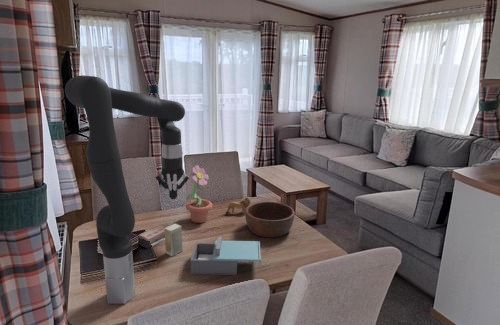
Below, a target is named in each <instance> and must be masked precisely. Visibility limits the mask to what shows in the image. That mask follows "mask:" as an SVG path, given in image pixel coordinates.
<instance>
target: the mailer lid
mask: <svg viewBox="0 0 500 325" xmlns="http://www.w3.org/2000/svg"><path fill="white" fill-rule="evenodd" d="M222 239H223V237H222V236H217V239H216V240H215V241H214V243H215V246H214V251H213V256H212V261H238V262H258V265H259V266H261V263H262V255H261V241H258V240H256V241H255V240H252V241H251V240H222Z"/></svg>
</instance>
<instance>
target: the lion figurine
mask: <svg viewBox="0 0 500 325" xmlns="http://www.w3.org/2000/svg"><path fill="white" fill-rule="evenodd" d="M251 204H252V198H251V197H249V196H247V197H244V199H243V200H241V201H239V202H237V201H230V202H229V204H228V206H227V210H226V212H225V214H228V213H232V214H233V215H236V212H234V210H235V208H236V209H238V210H240V209H241V212H242V213H243V215H245V209H246V207H247V206H249V205H251Z"/></svg>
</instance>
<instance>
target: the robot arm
mask: <svg viewBox="0 0 500 325" xmlns="http://www.w3.org/2000/svg"><path fill="white" fill-rule="evenodd" d="M64 94H65V96H66V99H67V100H68V101H69V102H70V103H71V104H72V105H73V106H75V107H78V108H81V109H84V112H85V115H86V119H87V122H88V128H89V130H88V131H89V136H88V140H87V143H86V144H87V145H86V149H85V150H86V153H85V154H86V159H87V164H88V168H89V173H90V176H91V178H92V180H93V182H94V183H95V184H96V186H97V188H98V190H100V192H102V194H103V196H104V198H105V200H106V202H107V204H108V205H105V206H103V207H101V209H100V210H99V211H98V213H97V216H96V221H95V222H96V224H95V225H96V232H97V238H98V245H99V247H100V249H101V251H102V258H103V268H104V277H105V278H104V279H105V291H106V299H107V300H106V301H107V304H109V305H110V304H112V305H125V304H127V302H129V301H130V300H132V299H134V296H136V286H135V285H136V284H135V272H134V259H133V243H132V242H131V240H130V239H129V238H128V236H129V235H131V234H132V232H133V231H134V229H135V226H136V218H135V217H136V216H135V212H134V210H133V206H132V204H131V201H130V196H129V194H128V190H127V184H126V181H125V177H124V176H125V175H124V172H123V164H122V159H121V155H120V150H119V146H118V140H117V135H116V129H115V125H114V117H113V116H114V115H113V112H114V111H113V110H118V111H120V112H121V111H122V112H126V113H130V114H133V115H138V116H143V117H149V118H156V119H157V122H158V125H159V129H160V131H161V166H162V169H161V172H160V173H159V174H157V175H156V177H155V179H156V180H157V181H158V182H159V184H160V185H161V186H162V188H164V189H165V190H168V194H169V198H170V199H171V200H176V199H177V197H178V196H179V195H178V190H180V189H182V188H183V187H184V185H185V184H186V183H187V181H188V180H189V179H190V177H191V175H189V174H186V173H185V170H184V165H183V146H182V130H181V129H180V128H179V127H177V126H176V125H175V122H179V121H182V120H183V119H184V117H185V115H186V109H185V107H184V105H183V104H182V103H180V102H178V101H175V100H171V99H169V100H168V99H162V98H159V97H155V96H152V95H149V94H144V93H140V92H134V91H130V90H128V91H127V90H122V89H117V88H112V87H109V85H108V83H107V82H106V81H105V80H104V79H103V78H101V77H99V76H93V75H75V76H74V77H71V78H69V80H68V81H67V82H66V84H65V87H64ZM181 178H182V181H181V182H180V184H179V180H180V179H181Z"/></svg>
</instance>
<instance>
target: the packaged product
mask: <svg viewBox="0 0 500 325" xmlns="http://www.w3.org/2000/svg"><path fill="white" fill-rule="evenodd" d="M171 225H172V224H171ZM171 225H170V224H168V223H165V222H164V223H162V224H160V225H158V226H155V227H153V228H150V229H149V230H146V231H144V232H142V233H140V234H138V235H137V237H138V236H139V238H140V239H144V240H146V241H150V243H151V245H152V247H154V246H156V245H158V244H161V243H163V242H165V230H164V228H166V227H168V226H171Z"/></svg>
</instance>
